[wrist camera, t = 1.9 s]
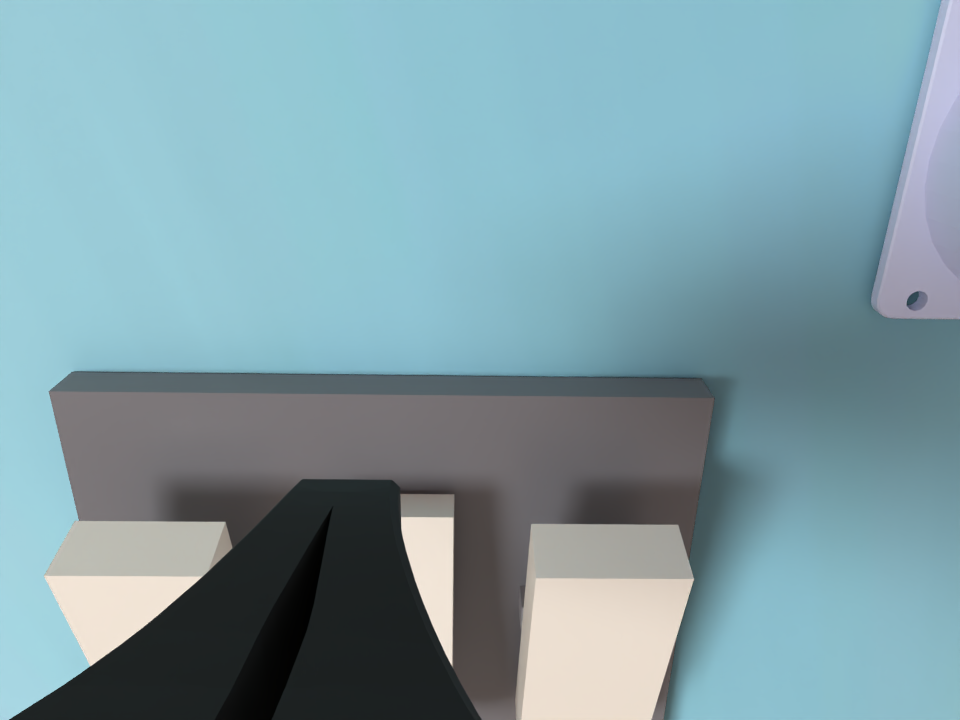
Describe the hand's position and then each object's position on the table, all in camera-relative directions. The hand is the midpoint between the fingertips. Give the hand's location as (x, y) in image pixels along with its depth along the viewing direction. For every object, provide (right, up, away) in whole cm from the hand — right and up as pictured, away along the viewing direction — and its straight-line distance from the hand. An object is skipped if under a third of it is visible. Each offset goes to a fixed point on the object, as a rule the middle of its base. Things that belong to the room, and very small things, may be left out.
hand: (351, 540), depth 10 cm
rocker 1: (-6, -5, +9) cm, 12 cm away
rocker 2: (+5, -5, +10) cm, 12 cm away
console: (-1, -4, +12) cm, 13 cm away
